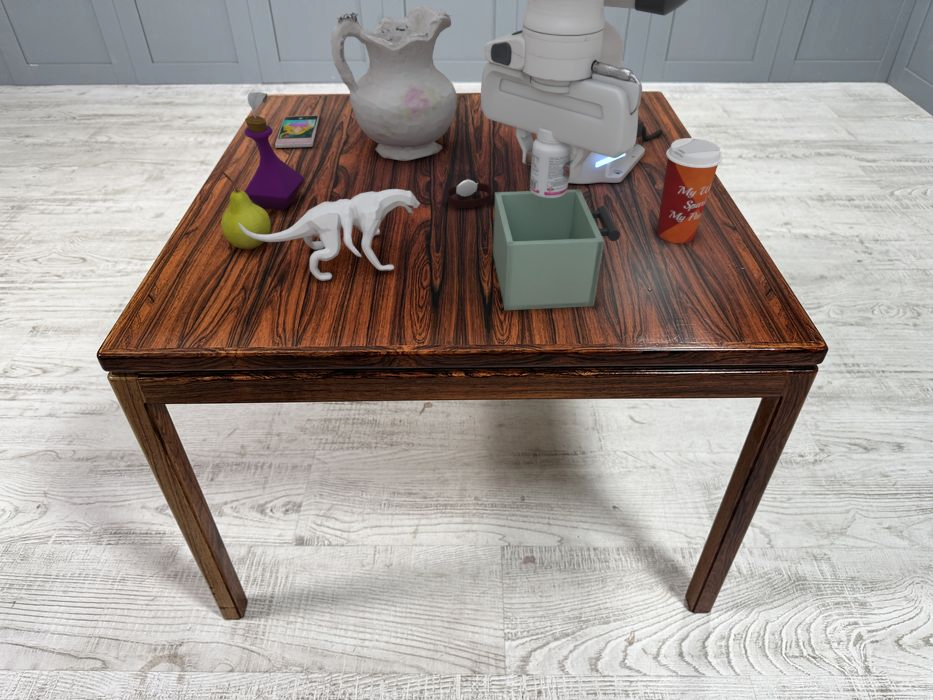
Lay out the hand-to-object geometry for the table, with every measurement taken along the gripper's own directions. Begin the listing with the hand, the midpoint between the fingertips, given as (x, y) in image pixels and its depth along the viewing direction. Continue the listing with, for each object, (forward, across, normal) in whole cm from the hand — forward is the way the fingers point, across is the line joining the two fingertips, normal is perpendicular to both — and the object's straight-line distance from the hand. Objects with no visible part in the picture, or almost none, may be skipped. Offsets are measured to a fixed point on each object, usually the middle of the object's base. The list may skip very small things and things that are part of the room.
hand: (550, 170), depth 81 cm
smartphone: (+16, +67, -11) cm, 70 cm away
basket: (+11, +4, +4) cm, 13 cm away
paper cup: (+16, -9, -24) cm, 30 cm away
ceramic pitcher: (+16, +46, -19) cm, 52 cm away
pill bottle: (+3, 0, 0) cm, 3 cm away
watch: (+16, +22, -11) cm, 30 cm away
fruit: (+16, +38, +21) cm, 47 cm away
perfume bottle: (+16, +46, +10) cm, 50 cm away
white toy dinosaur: (+16, +25, +15) cm, 34 cm away
